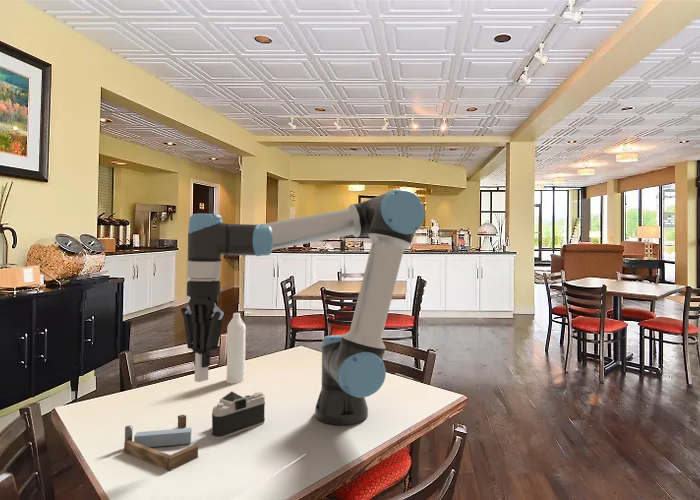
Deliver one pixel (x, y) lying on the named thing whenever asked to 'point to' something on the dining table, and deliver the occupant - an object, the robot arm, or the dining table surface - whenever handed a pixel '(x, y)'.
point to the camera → (237, 414)
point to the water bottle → (236, 349)
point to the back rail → (146, 454)
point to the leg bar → (163, 437)
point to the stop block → (182, 421)
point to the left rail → (182, 457)
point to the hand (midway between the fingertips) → (201, 380)
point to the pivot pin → (128, 433)
